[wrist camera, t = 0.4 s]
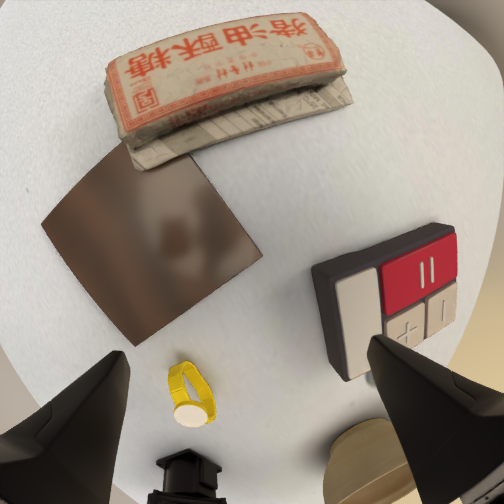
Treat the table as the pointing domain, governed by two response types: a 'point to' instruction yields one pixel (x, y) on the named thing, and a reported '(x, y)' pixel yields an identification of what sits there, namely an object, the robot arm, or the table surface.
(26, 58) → the table surface
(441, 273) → the calculator
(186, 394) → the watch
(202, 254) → the coaster
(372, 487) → the planter bowl
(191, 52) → the packaged product
